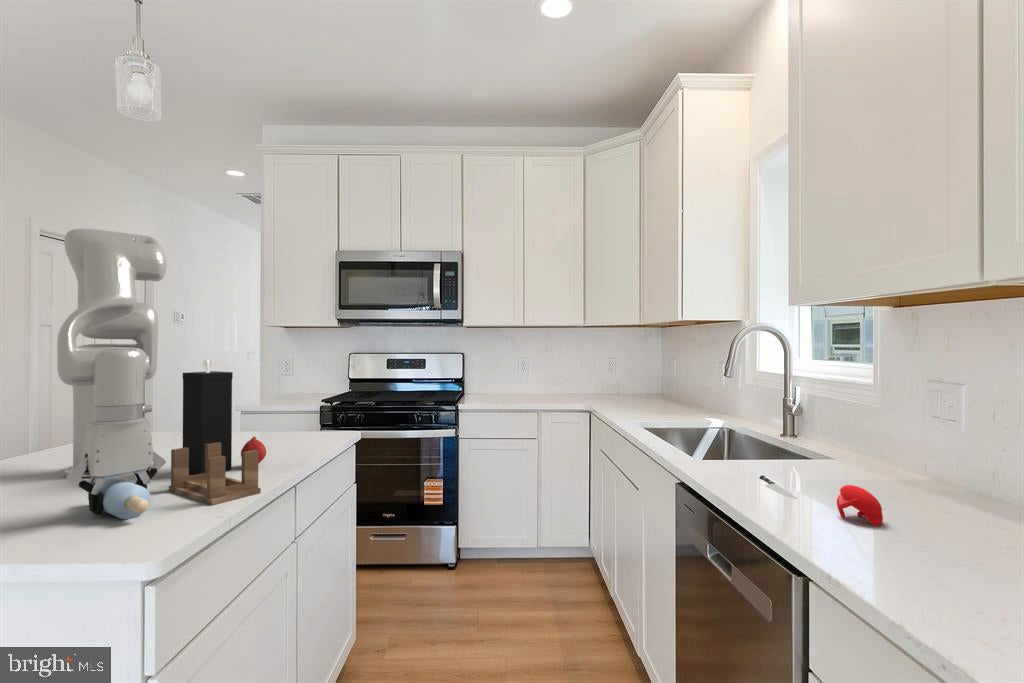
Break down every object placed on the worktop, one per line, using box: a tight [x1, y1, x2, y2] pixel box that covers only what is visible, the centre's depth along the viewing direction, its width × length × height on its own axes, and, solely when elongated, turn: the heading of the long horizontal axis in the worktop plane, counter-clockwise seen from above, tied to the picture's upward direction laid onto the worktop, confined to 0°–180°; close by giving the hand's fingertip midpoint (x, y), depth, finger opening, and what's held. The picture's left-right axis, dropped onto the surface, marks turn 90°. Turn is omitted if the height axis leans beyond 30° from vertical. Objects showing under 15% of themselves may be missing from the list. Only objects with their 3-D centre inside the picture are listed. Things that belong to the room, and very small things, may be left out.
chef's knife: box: [758, 475, 799, 500], centre depth 115 cm, size 19×1×3 cm
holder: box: [168, 442, 262, 506], centre depth 110 cm, size 18×10×9 cm, turn 57°
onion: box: [240, 435, 267, 465], centre depth 132 cm, size 6×6×8 cm
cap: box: [836, 484, 884, 527], centre depth 95 cm, size 8×6×6 cm
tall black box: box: [182, 358, 234, 476], centre depth 127 cm, size 8×8×28 cm
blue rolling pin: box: [87, 476, 151, 520], centre depth 96 cm, size 19×6×6 cm, turn 57°
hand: (118, 508), depth 96 cm, fingers closed on blue rolling pin, 6 cm apart
